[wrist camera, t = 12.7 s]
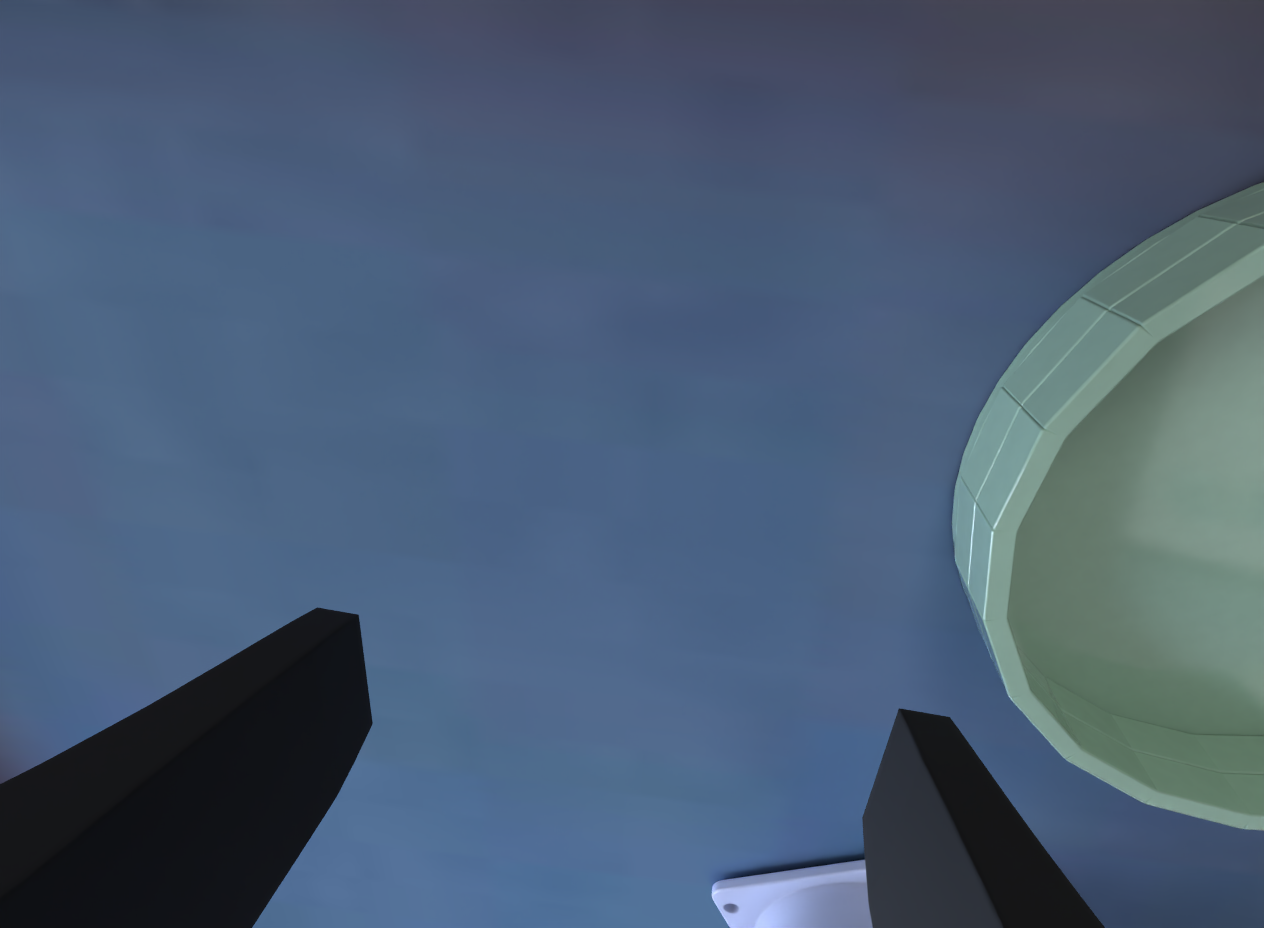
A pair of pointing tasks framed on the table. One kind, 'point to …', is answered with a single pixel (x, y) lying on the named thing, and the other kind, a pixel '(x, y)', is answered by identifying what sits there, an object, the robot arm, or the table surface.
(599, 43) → the table surface
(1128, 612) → the pan
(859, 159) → the table surface
